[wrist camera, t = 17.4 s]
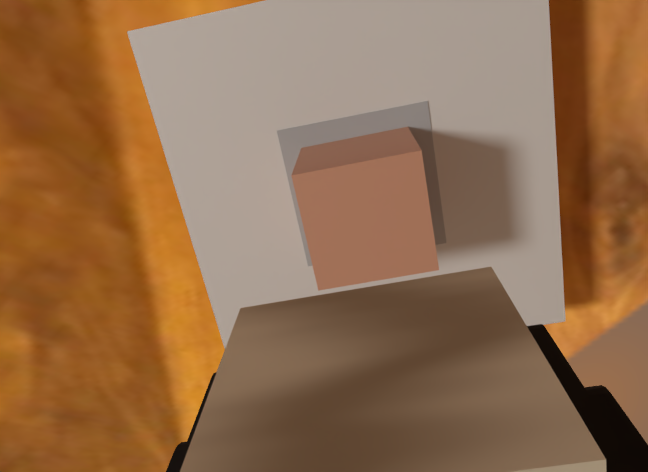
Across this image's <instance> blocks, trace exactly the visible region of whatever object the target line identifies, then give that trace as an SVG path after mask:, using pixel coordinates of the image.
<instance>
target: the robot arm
mask: <svg viewBox="0 0 648 472" xmlns="http://www.w3.org/2000/svg"><path fill="white" fill-rule="evenodd" d="M527 327H528V329H529V331H530V332H531V334H532V336H533V338H534V339H535V341H536V343H537V344H538V346H539V348H540V349H541V351H542V353H543V354H544V356H545V358H546V359H547V361H548V363H549V364H550V366H551V368H552V369H553V371H554V373H555V374H556V376H557V378H558V379H559V381H560V383H561V385H562V386H563V388H564V390H565V391H566V393H567V395H568V396H569V398H570V400H571V401H572V403H573V405H574V406H575V408H576V410H577V411H578V413H579V415H580V416H581V418H582V420H583V421H584V423H585V425H586V427H587V428H588V430H589V432H590V433H591V435H592V437H593V438H594V440H595V442H596V443H597V445H598V447H599V448H600V450H601V452H602V453H603V455H604V457H605V458H606V472H648V445H647V443H646V442H645V441H644V439H643V438H642V436H641V435H640V434H639V432H638V431H637V429H636V428H635V426H634V425H633V424H632V422H631V421H630V420H629V418H628V417H627V416H626V414H625V412H624V411H623V410H622V408H621V407H620V405H619V404H618V403H617V401H616V400H615V399H614V397H613V396H612V394H611V393H610V392H609V391H608V390H607V388H606V387H604V386H602V385H600V386H593V387H586V388H584V386H583V385H582V383H581V382H580V380H579V379H578V377H577V376H576V374H575V373H574V371H573V370H572V368H571V366H570V365H569V363H568V362H567V360H566V359H565V357H564V356H563V354H562V353H561V351H560V350H559V348H558V347H557V345H556V343H555V342H554V340H553V339H552V337H551V336H550V334H549V333H548V331H547V330H546V328H545V327H544V326H543V325H542V324H538V325H531V326H527ZM216 373H217V372H216ZM216 373H214V374H213V376H212V378H211V380H210V383H209V386H208V388H207V391H206V394H205V396H204V399H203V401H202V404H201V407H200V409H199V412H198V415H197V417H196V420H195V423H194V425H193V428H192V430H191V433H190V436H189V438H188V441H187V442H181V443H180V444H179V445H178V446H177V447H176V449H175V451H174V453H173V456H172V458H171V461H170V463H169V466H168V468H167V471H166V472H180V470H181V467H182V465H183V462H184V459H185V456H186V454H187V451H188V448H189V446H190V443H191V440H192V438H193V435H194V432H195V429H196V427H197V424H198V421H199V419H200V416H201V413H202V411H203V408H204V405H205V402H206V400H207V397H208V394H209V392H210V389H211V386H212V384H213V381H214V378H215V375H216Z"/></svg>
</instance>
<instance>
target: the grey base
mask: <svg viewBox="0 0 648 472" xmlns="http://www.w3.org/2000/svg"><path fill="white" fill-rule="evenodd" d="M127 33H128V36H129V40H130V43H131V46H132V49H133V53H134V56H135V59H136V62H137V66H138V69H139V72H140V75H141V79H142V82H143V85H144V88H145V91H146V95H147V98H148V101H149V104H150V108H151V111H152V114H153V117H154V121H155V124H156V127H157V130H158V134H159V137H160V140H161V143H162V147H163V150H164V153H165V156H166V160H167V163H168V166H169V169H170V172H171V176H172V179H173V182H174V185H175V189H176V192H177V195H178V198H179V202H180V205H181V208H182V211H183V215H184V218H185V221H186V224H187V228H188V231H189V234H190V237H191V241H192V244H193V247H194V250H195V253H196V257H197V260H198V263H199V266H200V270H201V273H202V276H203V279H204V283H205V286H206V289H207V292H208V296H209V299H210V302H211V305H212V309H213V312H214V315H215V318H216V322H217V325H218V328H219V331H220V334H221V338H222V341H223V344H224V347H225V348H226V346H227V343H228V340H229V338H230V335H231V332H232V330H233V327H234V324H235V321H236V319H237V316H238V313H239V311H240V308H244V307H250V306H256V305H262V304H268V303H274V302H280V301H286V300H292V299H298V298H304V297H310V296H316V295H322V294H328V293H334V292H340V291H346V290H353V289H359V288H365V287H371V286H377V285H383V284H389V283H395V282H401V281H407V280H413V279H419V278H425V277H431V276H437V275H443V274H449V273H455V272H461V271H467V270H473V269H480V268H486V267H492V269H493V270H494V272H495V274H496V275H497V277H498V279H499V280H500V282H501V284H502V285H503V287H504V289H505V291H506V292H507V294H508V296H509V297H510V299H511V301H512V302H513V304H514V306H515V307H516V309H517V311H518V312H519V314H520V316H521V317H522V319H523V321H524V322H525V324H526V326H531V325H538V324H542V325H544V324H551V323H557V322H564V321H565V303H564V284H563V265H562V246H561V227H560V207H559V188H558V169H557V150H556V131H555V111H554V92H553V73H552V54H551V35H550V15H549V0H266V1H261V2H257V3H253V4H248V5H244V6H239V7H235V8H230V9H226V10H221V11H217V12H212V13H208V14H203V15H199V16H194V17H190V18H186V19H181V20H177V21H172V22H168V23H163V24H159V25H154V26H150V27H145V28H141V29H136V30H132V31H127ZM403 127H408V128H409V130H410V131H411V133H412V135H413V136H414V138H415V140H416V142H417V143H418V145H419V147H420V148H421V150H422V156H423V163H424V170H425V177H426V184H427V191H428V197H429V204H430V211H431V218H432V225H433V232H434V238H435V245H436V252H437V259H438V266H439V270H437V271H431V272H425V273H419V274H413V275H407V276H401V277H396V278H390V279H384V280H378V281H372V282H366V283H360V284H354V285H348V286H342V287H337V288H331V289H325V290H319V291H318V287H317V283H316V278H315V274H314V270H313V266H312V261H311V257H310V253H309V249H308V244H307V240H306V236H305V232H304V227H303V223H302V219H301V215H300V210H299V206H298V202H297V198H296V193H295V189H294V185H293V181H292V176H291V175H292V172H293V169H294V167H295V164H296V161H297V158H298V156H299V153H300V150H301V148H303V147H308V146H313V145H318V144H323V143H328V142H333V141H338V140H343V139H348V138H353V137H358V136H363V135H368V134H373V133H378V132H383V131H388V130H393V129H398V128H403Z"/></svg>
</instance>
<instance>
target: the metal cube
mask: <svg viewBox="0 0 648 472" xmlns="http://www.w3.org/2000/svg"><path fill="white" fill-rule="evenodd" d="M180 472H606V458H605V457H604V455H603V453H602V452H601V450H600V448H599V447H598V445H597V443H596V442H595V440H594V438H593V437H592V435H591V433H590V432H589V430H588V428H587V427H586V425H585V423H584V421H583V420H582V418H581V416H580V415H579V413H578V411H577V410H576V408H575V406H574V405H573V403H572V401H571V400H570V398H569V396H568V395H567V393H566V391H565V390H564V388H563V386H562V385H561V383H560V381H559V379H558V378H557V376H556V374H555V373H554V371H553V369H552V368H551V366H550V364H549V363H548V361H547V359H546V358H545V356H544V354H543V353H542V351H541V349H540V348H539V346H538V344H537V343H536V341H535V339H534V338H533V336H532V334H531V332H530V331H529V329H528V327H527V326H526V324H525V322H524V321H523V319H522V317H521V316H520V314H519V312H518V311H517V309H516V307H515V306H514V304H513V302H512V301H511V299H510V297H509V296H508V294H507V292H506V291H505V289H504V287H503V285H502V284H501V282H500V280H499V279H498V277H497V275H496V274H495V272H494V270H493V269H492V267H486V268H480V269H473V270H467V271H461V272H455V273H449V274H443V275H437V276H431V277H425V278H419V279H413V280H407V281H401V282H395V283H389V284H383V285H377V286H371V287H365V288H359V289H353V290H346V291H340V292H334V293H328V294H322V295H316V296H310V297H304V298H298V299H292V300H286V301H280V302H274V303H268V304H262V305H256V306H250V307H244V308H240V311H239V313H238V316H237V319H236V321H235V324H234V327H233V330H232V332H231V335H230V338H229V340H228V343H227V346H226V348H225V351H224V354H223V357H222V359H221V362H220V365H219V367H218V370H217V373H216V375H215V378H214V381H213V384H212V386H211V389H210V392H209V394H208V397H207V400H206V402H205V405H204V408H203V411H202V413H201V416H200V419H199V421H198V424H197V427H196V429H195V432H194V435H193V438H192V440H191V443H190V446H189V448H188V451H187V454H186V456H185V459H184V462H183V465H182V467H181V470H180Z"/></svg>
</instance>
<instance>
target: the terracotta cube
mask: <svg viewBox="0 0 648 472" xmlns="http://www.w3.org/2000/svg"><path fill="white" fill-rule="evenodd" d="M291 176H292V181H293V185H294V189H295V193H296V198H297V202H298V206H299V210H300V215H301V219H302V223H303V227H304V232H305V236H306V240H307V244H308V249H309V253H310V257H311V261H312V266H313V270H314V274H315V278H316V283H317V287H318V291H319V290H325V289H331V288H337V287H342V286H348V285H354V284H360V283H366V282H372V281H378V280H384V279H390V278H396V277H401V276H407V275H413V274H419V273H425V272H431V271H437V270H439V266H438V259H437V252H436V245H435V238H434V232H433V225H432V218H431V211H430V204H429V197H428V191H427V184H426V177H425V170H424V163H423V156H422V150H421V148H420V147H419V145H418V143H417V142H416V140H415V138H414V136H413V135H412V133H411V131H410V130H409V128H408V127H403V128H398V129H393V130H388V131H383V132H378V133H373V134H368V135H363V136H358V137H353V138H348V139H343V140H338V141H333V142H328V143H323V144H318V145H313V146H308V147H303V148H301V150H300V153H299V156H298V158H297V161H296V164H295V167H294V169H293V172H292V175H291Z"/></svg>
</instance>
